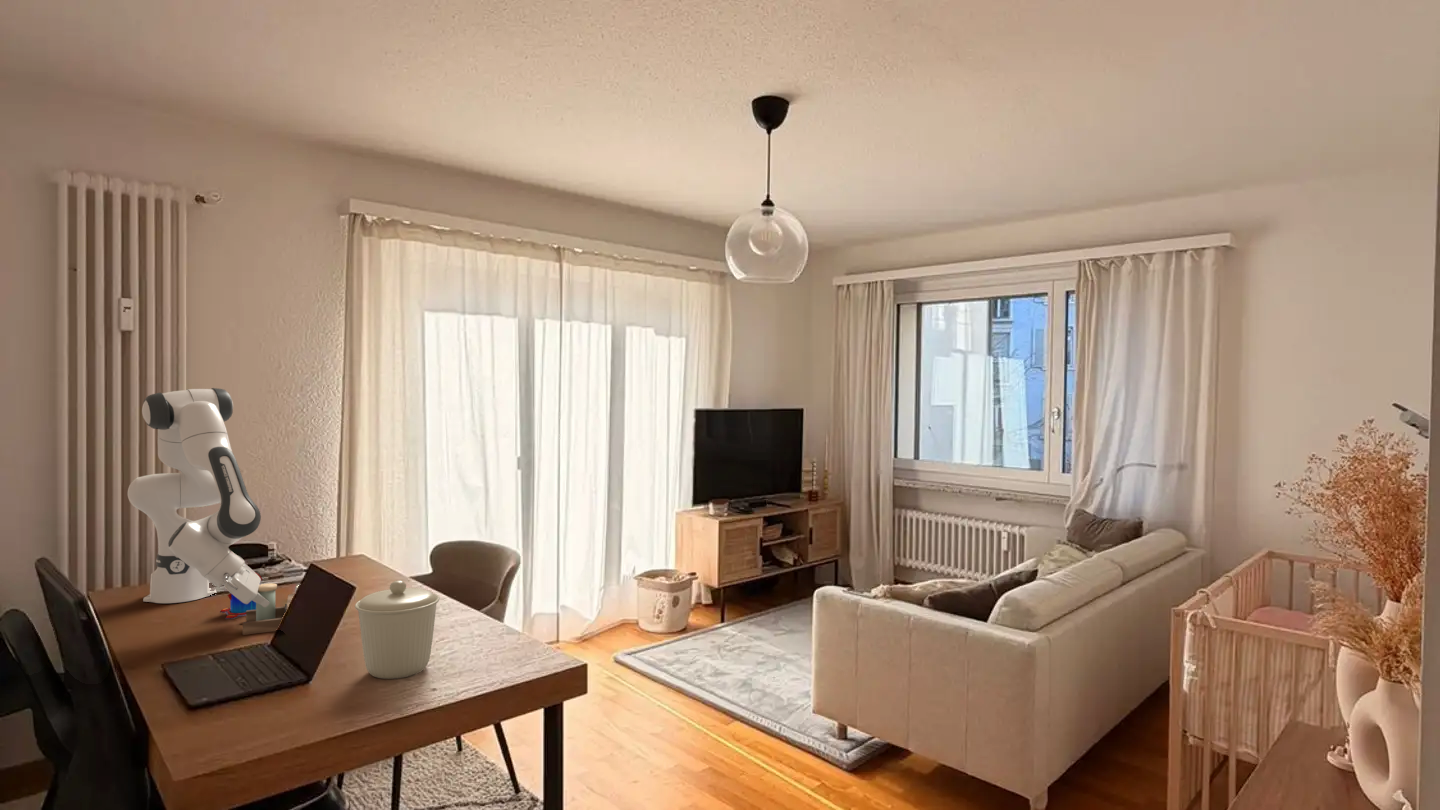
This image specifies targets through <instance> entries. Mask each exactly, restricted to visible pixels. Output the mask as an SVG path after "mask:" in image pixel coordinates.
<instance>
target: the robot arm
mask: <svg viewBox="0 0 1440 810" xmlns="http://www.w3.org/2000/svg"><path fill="white" fill-rule="evenodd" d="M233 411H234V402H233V399H232V396H231V394H230V392H228V391H227V390H226V389H223V388H217V387H216V388H215V387H212V388H188V389H187V388H186V389H184V390H183V389H182V390H173V391H167V392H157V393H156V392H155V393H152V394H149V395H147V396H146V397H145V398H144V400H143V404H142V408H141V414H142V418H143V420H144V421H145V424H146V425H147V426H148V427H149V428H152V429H155V430H157V457H158V459H159V460H160V462H161V463H163V464H164V465H165V466H167V467H170V468H171V469H175V470H177V471H179V472H171V473H170V472H169V473H166V472H165V473H153V474H152V473H151V474H147V475H142V476H138V477H136V478H134V479H133V480H132V481H131V482H130V484H129V486H128V488H127V498H128V501H129V503H130V505H132V507H134V508H135V509H136V510H139V511H141V512H142V513H144V514H145V515H147V517H148V518H149V519H150V520H151V521H152V524H153V525H154V526H155V527H154V528H155V530H156V535H157V546H158V547H157V549H158V553H157V554H156V561H155V562H156V569H155V570H154V571H153V572H151V574H150V585H149V594H148V595H146V596H144V597H143V600H142V601H143V602H146V603H147V602H149V603H154V604H177V603H185V602H192V601H196V600H199V599H203V598H205V597H210V595H211V596H213V595H212V594H214V593H217V590H216V589H215V590H214V591H210V590H211V588H209V583H212V585H213V586H215V587H216V588H220V587H221V586H224V588H225V589H227V590H226V591H228V592H229V594H230V593H231V594H232V595H234V596H235V597H236V598H237V599H239V600H240V601H241V602H243V603H245V604H248V603H249V602H250V601H254V602H256V603H258V604H260V605H262V606H263V607H267V606H268V605H269V603H270V601H269V600H268V599H266V598H264V597H263V596H261V595H260V594H259V593H258V589H259V585H260V584H261V579H260V577H259V576H258V575H257V574H258V573H257V572H256V573H257V574H256V573H255V571H254V570H253V569H252V568H251V567H250V566H248V564H246V563H245V560H244V559H243V558H242V557H241V555H237V554H236V553H234V552H233V551H232V550H231V549H230V548H229V547H230V546H231V545H233V544H235V543H237V542H238V541H240V540H242V539H243V538H245V537H247V536H250V535H251V534H252V533H254V532H255V531H256V530H257V529H258V527H259V526H260V525H261V524H260V523H261V520H262V519H261V517H262V516H261V511H260V508H259V507H258V506H257V505H256V503H255V502H254V501H253V499H252V498H251V496H250V495H249V492H248V489H247V488H246V485H245V481H244V478H243V476H242V475H243V474H242V473H241V469H240V467H239V464H238V461H237V459H236V457H235V455H234V452H233V449H232V445H231V442H230V438H229V434H228V431H227V430H228V429H227V427H226V424H225V422H227V421H228V420H229V419H230V418H231V417H232V415H233V413H234V412H233ZM218 504H220V505H219V508H218V510H217V511H216V512H214V513H213V514H209V515H208V516H205V517H203V518H200V519H196V520H191V519H189V518H186V517H184V516H181V515H179V514H178V512H177V510H179V509H184V508H186V509H187V508H189V509H190V508H200V507H201V508H202V507H207V506H213V505H218Z"/></svg>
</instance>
